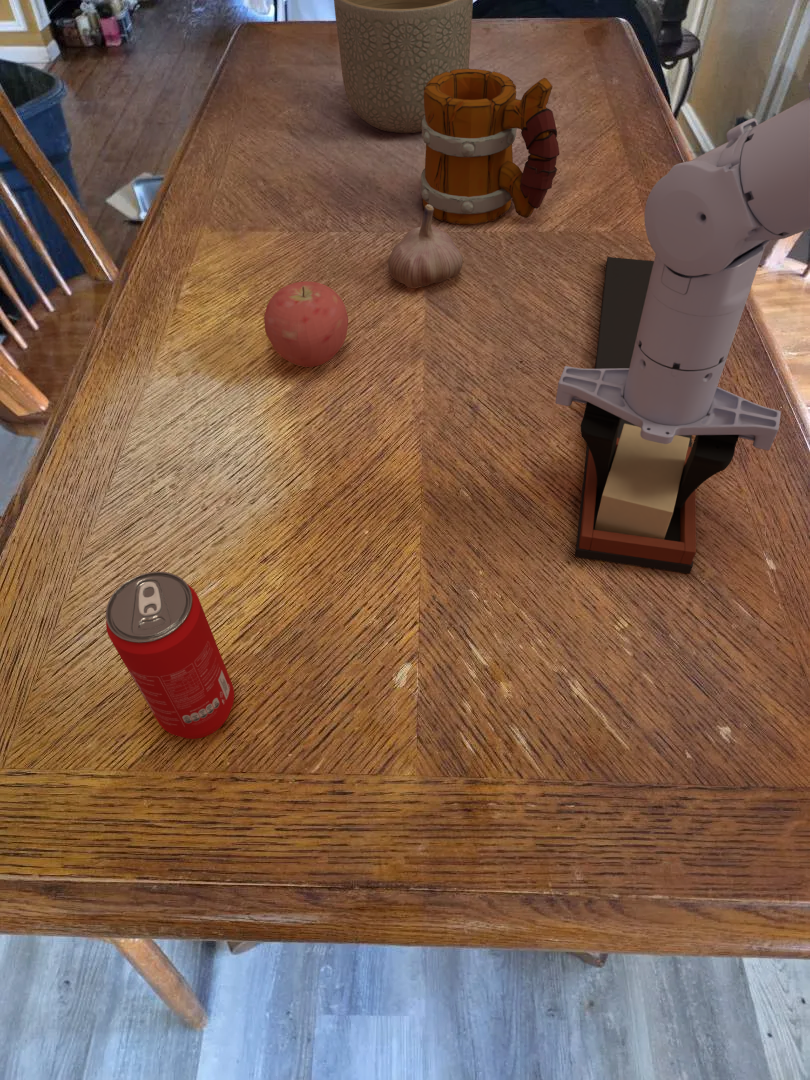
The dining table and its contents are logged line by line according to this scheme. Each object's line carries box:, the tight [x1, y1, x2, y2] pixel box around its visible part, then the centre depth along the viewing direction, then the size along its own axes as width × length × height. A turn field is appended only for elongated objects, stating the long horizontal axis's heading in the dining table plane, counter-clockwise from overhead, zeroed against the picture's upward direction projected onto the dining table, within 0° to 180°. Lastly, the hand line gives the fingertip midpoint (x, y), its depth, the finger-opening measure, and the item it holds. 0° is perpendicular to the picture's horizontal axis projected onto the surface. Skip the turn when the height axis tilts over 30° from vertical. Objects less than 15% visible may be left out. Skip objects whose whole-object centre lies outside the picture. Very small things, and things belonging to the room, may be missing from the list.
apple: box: [263, 280, 349, 368], centre depth 74 cm, size 7×7×8 cm
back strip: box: [574, 256, 697, 574], centre depth 72 cm, size 8×40×2 cm, turn 168°
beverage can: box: [105, 571, 235, 740], centre depth 49 cm, size 5×5×12 cm
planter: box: [333, 0, 474, 134], centre depth 103 cm, size 17×17×15 cm
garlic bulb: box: [387, 204, 464, 289], centre depth 82 cm, size 8×7×8 cm
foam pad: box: [594, 424, 690, 540], centre depth 61 cm, size 5×8×4 cm, turn 159°
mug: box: [419, 68, 560, 226], centre depth 88 cm, size 11×16×15 cm, turn 56°
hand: (640, 489), depth 62 cm, fingers closed on foam pad, 5 cm apart
